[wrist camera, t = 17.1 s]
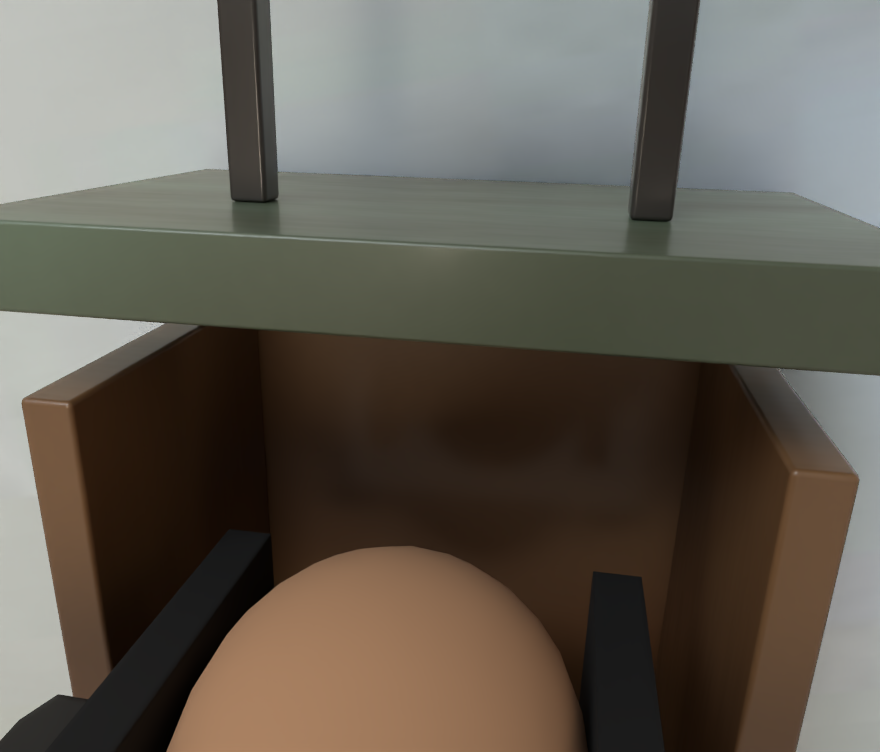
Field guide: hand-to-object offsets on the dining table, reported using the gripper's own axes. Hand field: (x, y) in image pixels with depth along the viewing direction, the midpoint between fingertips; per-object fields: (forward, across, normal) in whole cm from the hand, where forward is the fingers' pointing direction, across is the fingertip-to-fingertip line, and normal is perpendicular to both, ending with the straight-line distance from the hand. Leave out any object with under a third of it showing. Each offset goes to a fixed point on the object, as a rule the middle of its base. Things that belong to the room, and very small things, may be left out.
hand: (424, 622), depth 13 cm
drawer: (+6, 0, +2) cm, 6 cm away
